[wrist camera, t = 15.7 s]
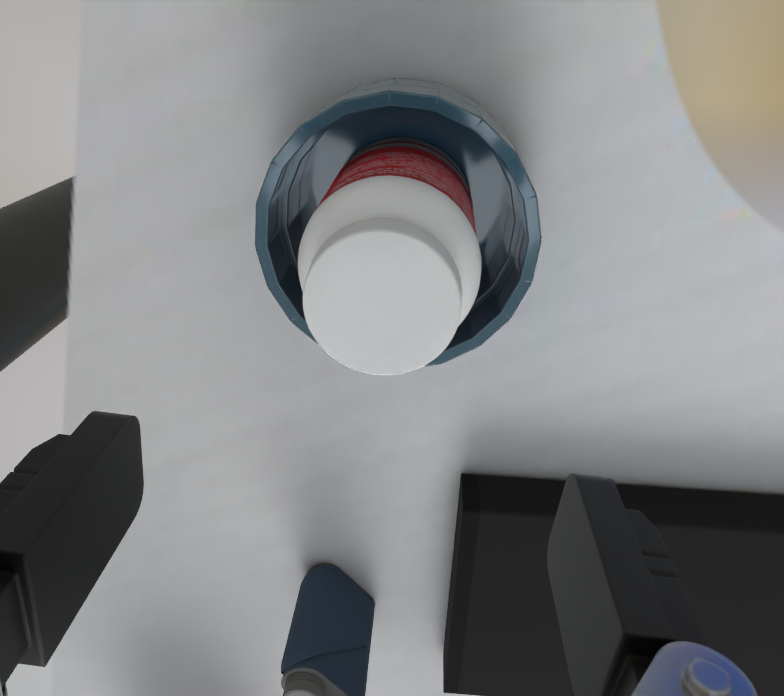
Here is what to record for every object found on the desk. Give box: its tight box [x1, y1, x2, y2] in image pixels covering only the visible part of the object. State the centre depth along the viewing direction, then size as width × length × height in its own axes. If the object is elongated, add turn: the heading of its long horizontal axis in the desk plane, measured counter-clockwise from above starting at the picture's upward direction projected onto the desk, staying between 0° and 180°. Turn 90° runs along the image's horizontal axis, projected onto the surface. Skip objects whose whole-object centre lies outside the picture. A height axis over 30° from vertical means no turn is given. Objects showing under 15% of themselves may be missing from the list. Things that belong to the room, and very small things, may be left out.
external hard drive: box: [443, 474, 784, 696], centre depth 37 cm, size 14×23×3 cm, turn 88°
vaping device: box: [281, 564, 375, 696], centre depth 35 cm, size 3×5×12 cm, turn 40°
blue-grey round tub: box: [255, 78, 541, 366], centre depth 27 cm, size 11×11×6 cm
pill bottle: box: [298, 138, 482, 376], centre depth 24 cm, size 6×6×11 cm
